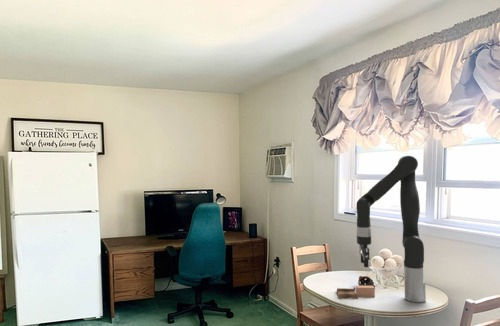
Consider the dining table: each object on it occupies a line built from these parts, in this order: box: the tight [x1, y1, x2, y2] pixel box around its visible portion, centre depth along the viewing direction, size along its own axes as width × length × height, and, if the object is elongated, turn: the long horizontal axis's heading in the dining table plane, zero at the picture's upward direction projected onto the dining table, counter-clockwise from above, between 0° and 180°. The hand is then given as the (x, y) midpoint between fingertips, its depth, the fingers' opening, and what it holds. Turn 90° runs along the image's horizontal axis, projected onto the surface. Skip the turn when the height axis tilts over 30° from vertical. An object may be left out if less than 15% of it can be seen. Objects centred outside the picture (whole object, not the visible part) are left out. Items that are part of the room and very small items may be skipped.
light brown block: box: [355, 285, 376, 298], centre depth 193 cm, size 9×4×5 cm, turn 83°
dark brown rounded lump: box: [357, 275, 376, 290], centre depth 204 cm, size 12×10×8 cm
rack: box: [336, 287, 359, 300], centre depth 194 cm, size 10×10×2 cm
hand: (364, 264), depth 193 cm, fingers open, 8 cm apart
